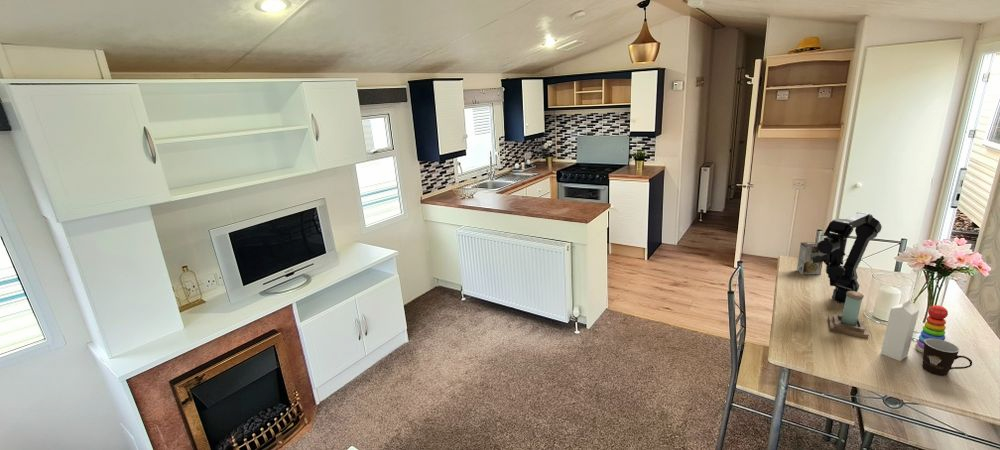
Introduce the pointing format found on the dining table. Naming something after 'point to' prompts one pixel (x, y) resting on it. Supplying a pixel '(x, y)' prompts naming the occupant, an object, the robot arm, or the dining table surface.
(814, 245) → the coffee box
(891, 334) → the milk
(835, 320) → the brown wooden square tray
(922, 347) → the stacking toy
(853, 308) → the cup
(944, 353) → the coffee mug
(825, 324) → the dining table surface
